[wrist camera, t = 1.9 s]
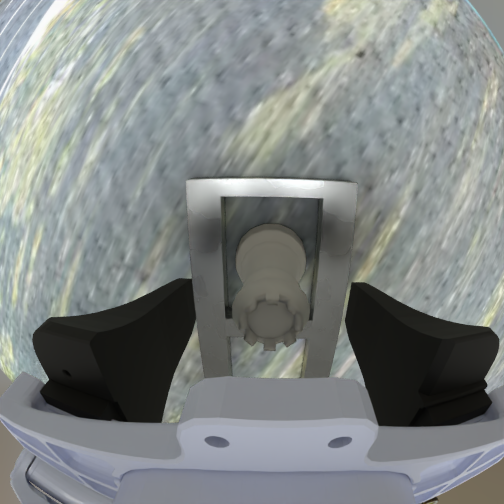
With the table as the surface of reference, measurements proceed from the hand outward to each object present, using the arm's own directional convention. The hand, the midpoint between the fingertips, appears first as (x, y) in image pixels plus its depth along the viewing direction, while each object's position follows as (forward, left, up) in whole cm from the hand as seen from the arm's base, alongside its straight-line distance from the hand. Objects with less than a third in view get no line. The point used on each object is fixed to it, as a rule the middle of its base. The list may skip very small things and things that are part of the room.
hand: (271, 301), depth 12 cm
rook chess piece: (0, 0, -6) cm, 6 cm away
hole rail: (0, -10, -6) cm, 11 cm away
